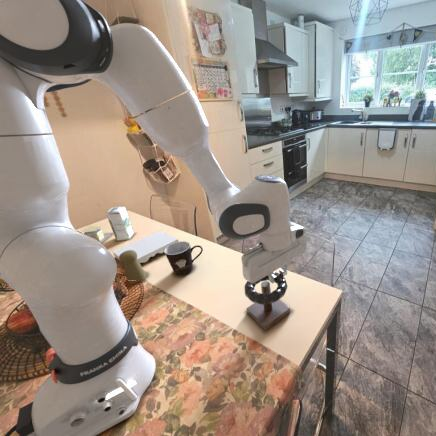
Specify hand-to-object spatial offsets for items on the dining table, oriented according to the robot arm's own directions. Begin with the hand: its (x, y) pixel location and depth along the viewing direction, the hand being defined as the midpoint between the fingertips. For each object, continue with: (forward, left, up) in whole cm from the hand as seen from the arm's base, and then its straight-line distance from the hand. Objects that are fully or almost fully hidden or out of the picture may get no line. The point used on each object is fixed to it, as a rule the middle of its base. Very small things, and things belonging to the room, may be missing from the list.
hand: (278, 277), depth 70 cm
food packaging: (-21, +62, -10) cm, 66 cm away
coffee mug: (-14, +37, -10) cm, 41 cm away
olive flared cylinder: (-29, +46, -10) cm, 55 cm away
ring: (-5, 0, 0) cm, 5 cm away
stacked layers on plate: (-35, +92, -10) cm, 100 cm away
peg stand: (-5, 0, -10) cm, 11 cm away
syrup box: (-25, +84, -10) cm, 88 cm away
